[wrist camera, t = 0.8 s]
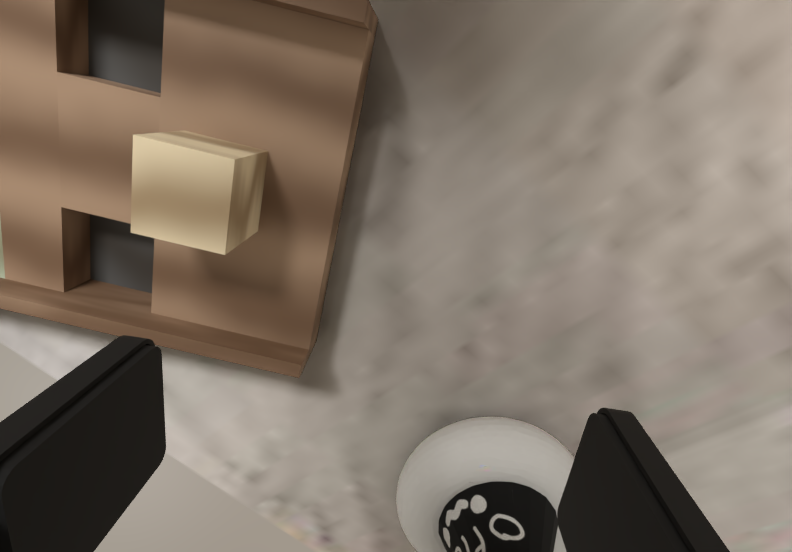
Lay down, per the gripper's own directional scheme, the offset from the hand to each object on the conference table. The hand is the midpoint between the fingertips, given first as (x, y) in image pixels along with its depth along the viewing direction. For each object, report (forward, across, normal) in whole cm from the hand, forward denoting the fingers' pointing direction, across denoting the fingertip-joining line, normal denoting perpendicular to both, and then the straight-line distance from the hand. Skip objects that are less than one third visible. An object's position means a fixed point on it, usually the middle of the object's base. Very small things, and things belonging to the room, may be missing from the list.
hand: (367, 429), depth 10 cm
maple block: (+19, +11, -1) cm, 22 cm away
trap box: (+22, +18, -2) cm, 29 cm away
